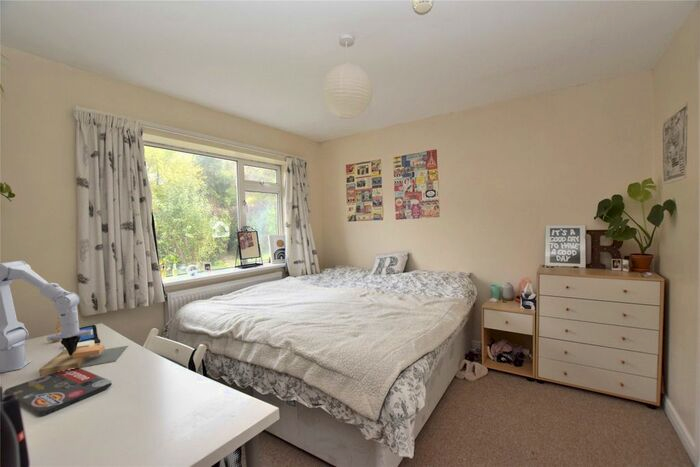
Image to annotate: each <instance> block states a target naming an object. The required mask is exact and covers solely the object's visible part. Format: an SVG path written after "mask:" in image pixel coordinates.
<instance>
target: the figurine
mask: <svg viewBox="0 0 700 467" xmlns="http://www.w3.org/2000/svg"><path fill="white" fill-rule="evenodd" d="M57 320H58V322H57V323H56V325H55V326H56V327H55V330H56V332H55V333H54V334H53V335H56V334H60V333H61V328H60V318H59V317H58V318H57ZM59 341H62V339H59V340H52V341H51V342H57V343H58V342H59Z"/></svg>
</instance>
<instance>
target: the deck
mask: <svg viewBox="0 0 700 467" xmlns="http://www.w3.org/2000/svg"><path fill="white" fill-rule="evenodd" d="M100 343H101V342H100ZM100 343H96V344H94V345H93V346H98V345H101V344H100ZM90 357H91V356H85V357H78V358H73V356H72V355H71V356H69V353H63V351H61V352H60V353H59V354H58V355H56V356H55V357H53V358H52V359H51V360H49V361H48V362H47V363H46V364H44V365H43V366H42V367H41V368H39V371H38V372H39V376H40V377H41V376H45V375H46V376H47V375H51V374H57V373H56V372H58V371H62V370H65V369H69V368H73V367H76V368H79V369H81V368H80V366H81V365H82V364H83V363H84V362H85V361H86V360H88V359H89V358H90ZM58 373H59V372H58Z"/></svg>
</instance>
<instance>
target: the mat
mask: <svg viewBox="0 0 700 467" xmlns="http://www.w3.org/2000/svg"><path fill="white" fill-rule="evenodd" d="M128 347H129V345H123V346H117V347H112V348H111V347H110V348H107V349H106V348H104V350H103V351H102V352H101V353H100V354H99V355H92V356H91V357H90V358H89V359H88V360H86V361H85V362H84V363H83V364H82V365H81V366H80V368H79V369H81V368H87V367H92V366H97V365H103V364H108V363H114V362H117V360H118V359H119V358H120V357H121V355H123V353H124V352H125V351H126V349H127V348H128Z"/></svg>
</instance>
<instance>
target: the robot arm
mask: <svg viewBox="0 0 700 467" xmlns="http://www.w3.org/2000/svg"><path fill="white" fill-rule="evenodd" d="M19 279H20V280H23V281H24V282H27V283H28V284H30V285H31V286H33V287H35V288H37V289H39V294H40V295H42V296H43V297H45V298H46V299H48V300H49V301H51V302H52V303H53V306H54V308H55V309H56V310H57V313H58V315H59V317H58V318H60V328H59V329H60V333H59V334H56V335H54V334H52V335H48V336H47V337H46V342H47V343H48V342H53V341H52V340H59V339H61V340H59V341H60V344H61V345H62V346H64V348H66V349H67V351H68V353H69V356H71V355H72V353H74V352H75V351H76V348H77V344H78V342H79V340H80V338H81V336H86V335H92V334H93V329H91V330H79V328H80V323H79V313H78V312H79V311H78V305H79V304H80V302H81V297H80V295H78V293H76V292H70V291H69V290H66V289H64V288H63V287H62V286H60V284H59V283H57V282H56V283H55V282H48V281H47V280H45V279H44V278H43V277H42V276H40V274H38V273H37V272H35V271H34V270H33V269H32V268H31V265H30V264H28V263H27V262H25V261H24V260H15V261H7V262H1V263H0V373H6V372H12V371H17V370H21V369H22V368H24V367H26V365H28V364H30V363H31V362H32V360H26V351H25V343H26V340H27V339H28V338H29V335H30V334H29V331H28V330H27V328H26V327H25V323H23V322H21V321H18V317H17V314H16V309H15V305H14V300H13V295H12V291H11V287H10V285H11V284H12V283H13V282H14V281H15V280H19Z"/></svg>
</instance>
